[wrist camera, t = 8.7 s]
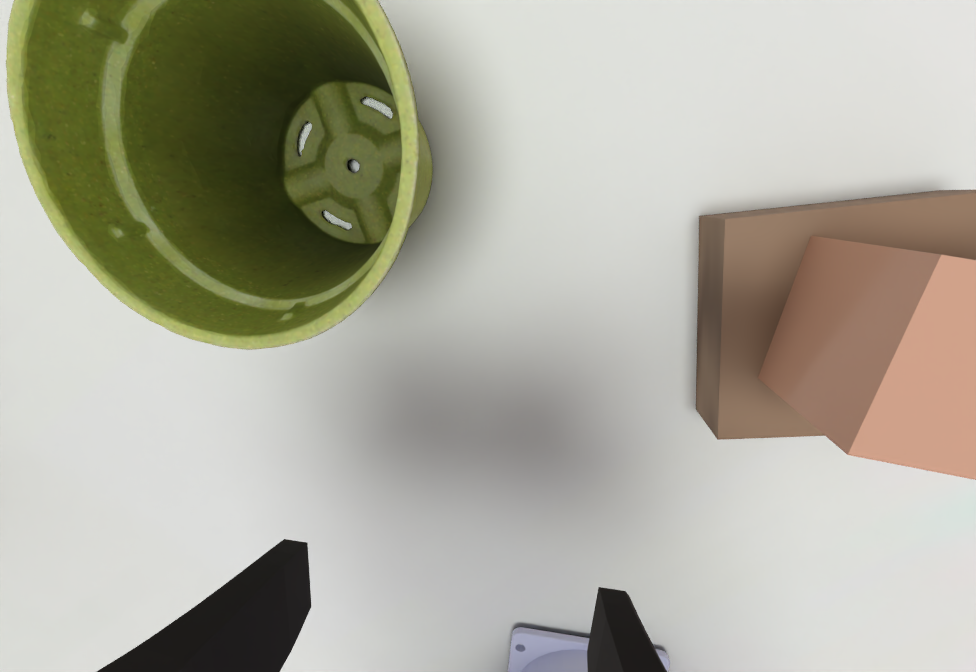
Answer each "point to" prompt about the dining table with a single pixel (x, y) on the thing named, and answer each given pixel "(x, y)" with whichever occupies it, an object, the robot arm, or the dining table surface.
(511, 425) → the dining table surface
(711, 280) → the walnut block
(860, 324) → the terracotta cube
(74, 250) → the plant pot
